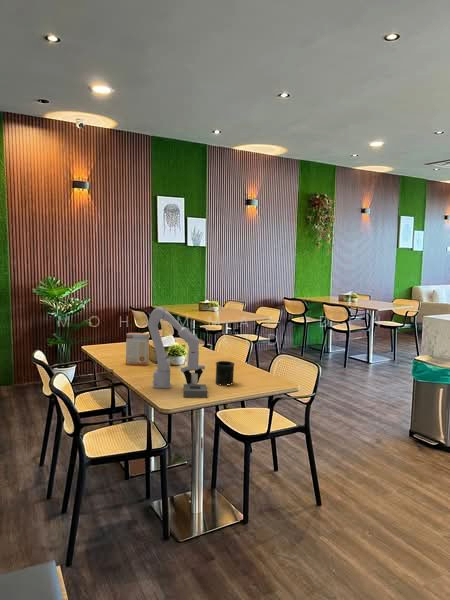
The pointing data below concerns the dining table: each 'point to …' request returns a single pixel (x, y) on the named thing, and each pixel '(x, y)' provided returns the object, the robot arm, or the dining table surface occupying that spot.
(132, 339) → the cracker box
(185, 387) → the socket block
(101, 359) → the dining table surface
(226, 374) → the mug
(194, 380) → the steel peg
